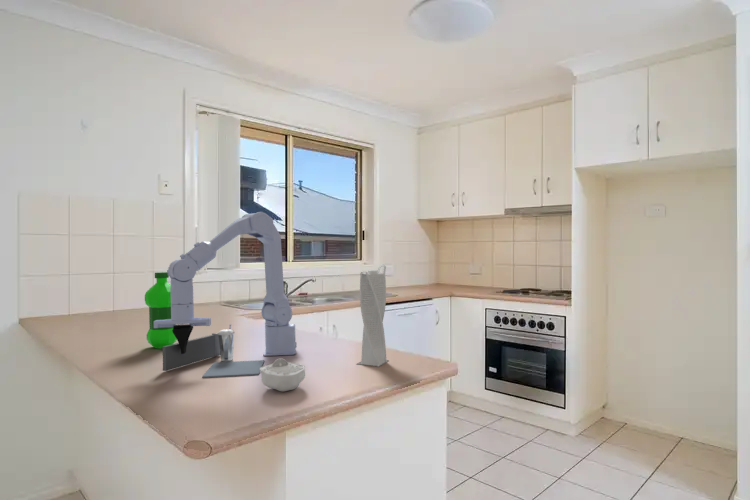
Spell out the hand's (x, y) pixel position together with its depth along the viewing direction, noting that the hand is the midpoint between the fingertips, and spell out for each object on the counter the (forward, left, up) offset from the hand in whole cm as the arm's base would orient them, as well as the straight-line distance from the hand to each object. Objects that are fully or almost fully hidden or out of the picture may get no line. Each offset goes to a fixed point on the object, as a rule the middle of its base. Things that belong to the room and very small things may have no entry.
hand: (183, 353), depth 126 cm
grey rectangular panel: (-1, -6, -4) cm, 7 cm away
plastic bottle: (+15, -31, -5) cm, 35 cm away
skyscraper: (-52, +4, -5) cm, 53 cm away
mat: (-14, +3, -4) cm, 15 cm away
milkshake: (-10, -8, -5) cm, 14 cm away
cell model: (-28, +23, -5) cm, 37 cm away
